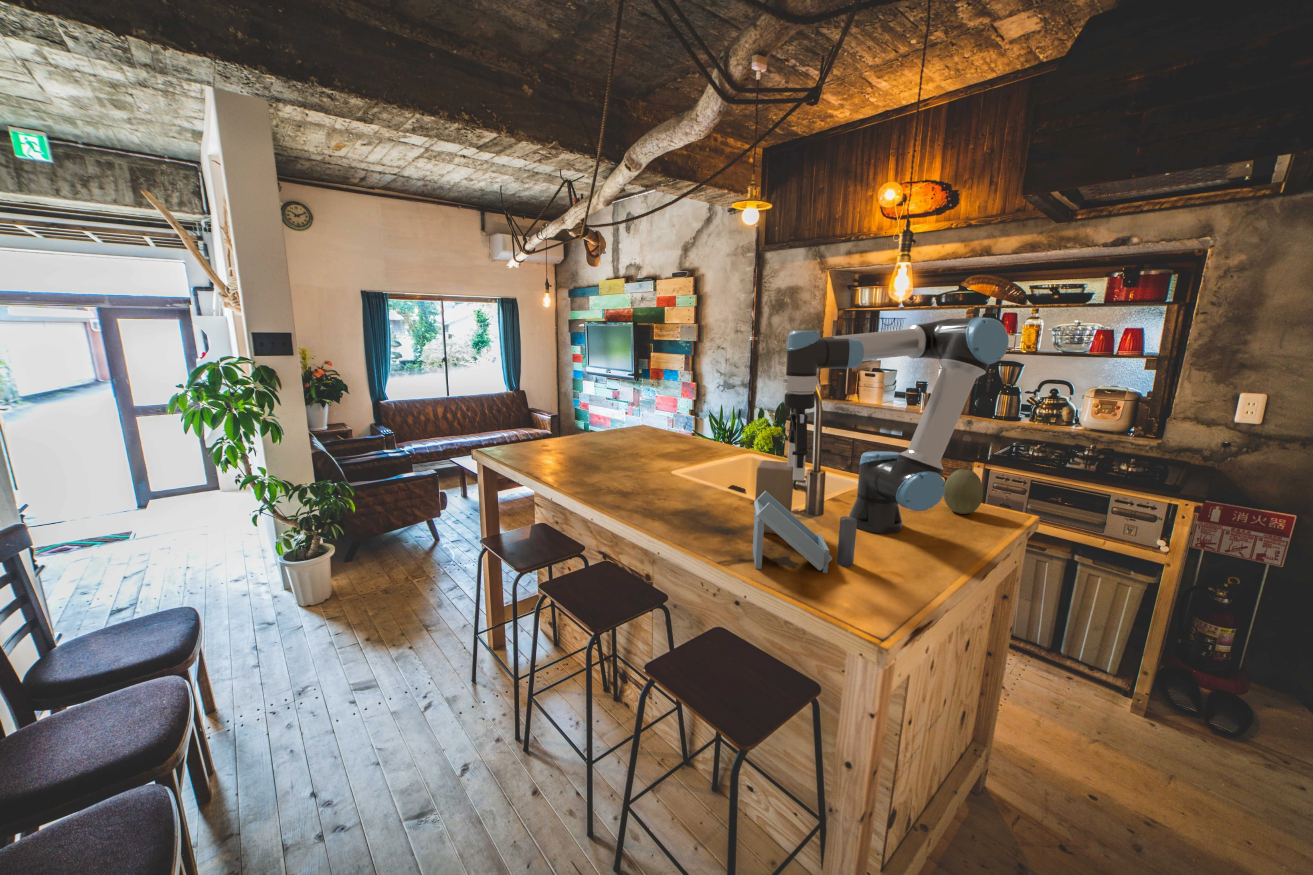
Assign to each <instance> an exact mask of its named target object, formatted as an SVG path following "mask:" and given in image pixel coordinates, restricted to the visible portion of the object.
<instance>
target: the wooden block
mask: <svg viewBox="0 0 1313 875" xmlns="http://www.w3.org/2000/svg"><path fill="white" fill-rule="evenodd" d="M764 491H766V492H768V493H769V494H770V495H771V496H772V497H773V498H774V499H776V500H777V501H778V502H779V503H780V504H781V505H782V506H784V507H785V508H786V509H787V510H788V511H789V512H790V513H792V505H793V492H794V480H793V467H790V466H788V461H778V460H766V459H763V460H761V461H760V463H759V464H758V466H757V468H756V478H755V496H754V502H755V501H756V500H757V499H758V498H759V496H760V495H761V494H762V493H763V492H764ZM753 514H754V515H755V512H753ZM764 534H774V535H778V534H777V533H776V532H775V531H774V530H772V529H771V528H770V527H769V526H768V525H767V524H765V523H764Z"/></svg>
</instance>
